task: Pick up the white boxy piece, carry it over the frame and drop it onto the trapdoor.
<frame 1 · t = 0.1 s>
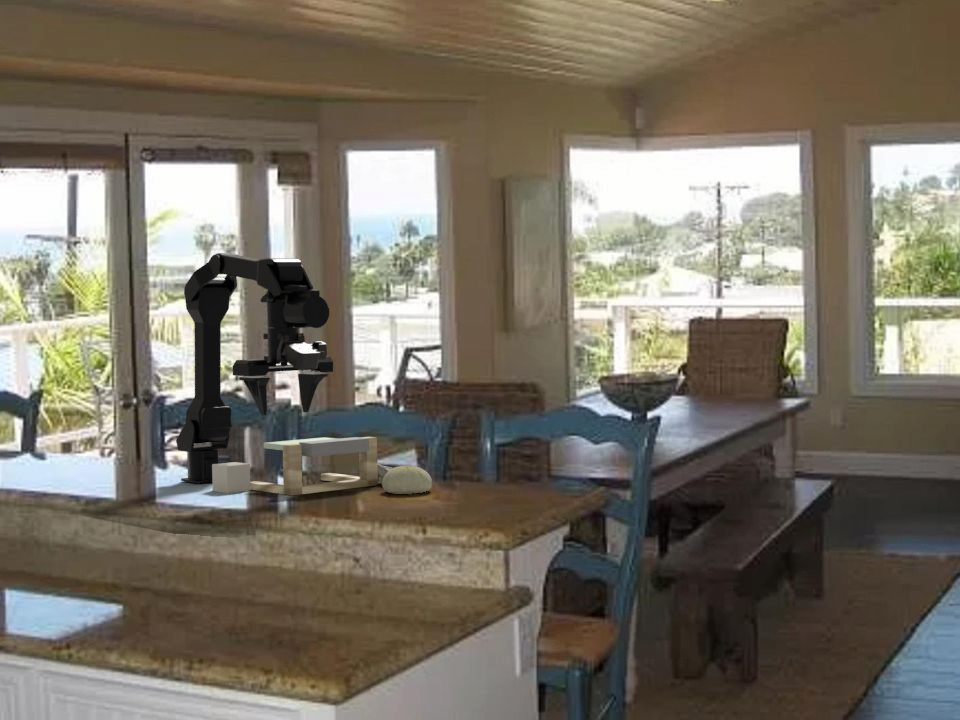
hand: (285, 413, 281), 15 cm above the kitchen counter, tool pointing down, fingers open, 9 cm apart
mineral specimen: (394, 486, 294), on the kitchen counter
trapdoor: (317, 445, 290), point 8 cm above the kitchen counter, hinge at 0.0°
white boxy piece: (231, 490, 288), on the kitchen counter
frame: (314, 487, 291), on the kitchen counter
sea urchin shell: (407, 494, 282), on the kitchen counter
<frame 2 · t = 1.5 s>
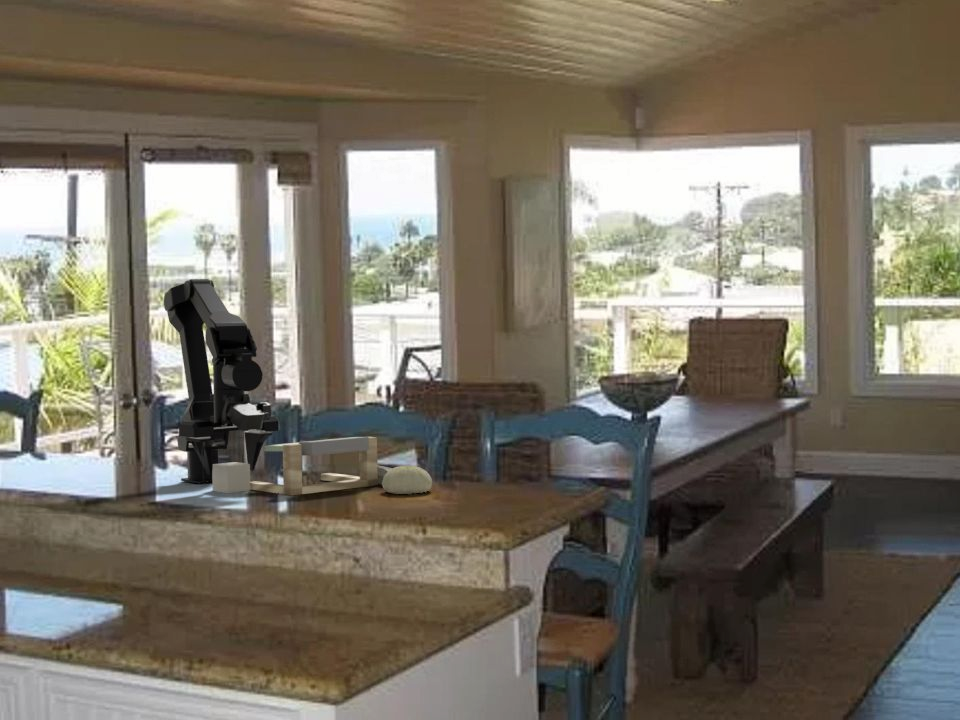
hand: (230, 472, 288), 3 cm above the kitchen counter, tool pointing down, fingers open, 9 cm apart
trapdoor: (317, 445, 290), point 8 cm above the kitchen counter, hinge at -3.3°, touching gripper
everything else where it was.
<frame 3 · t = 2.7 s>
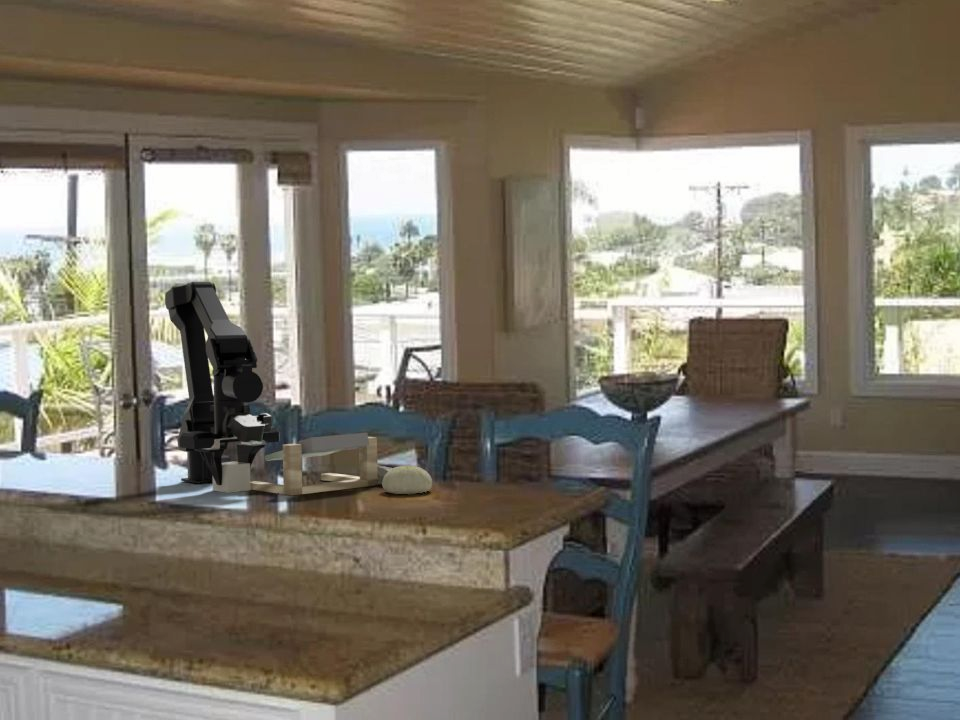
hand: (231, 483, 288), 1 cm above the kitchen counter, tool pointing down, fingers closed on white boxy piece, 5 cm apart
trapdoor: (317, 448, 290), point 7 cm above the kitchen counter, hinge at -14.0°
white boxy piece: (231, 490, 288), on the kitchen counter, touching gripper
everything else where it was.
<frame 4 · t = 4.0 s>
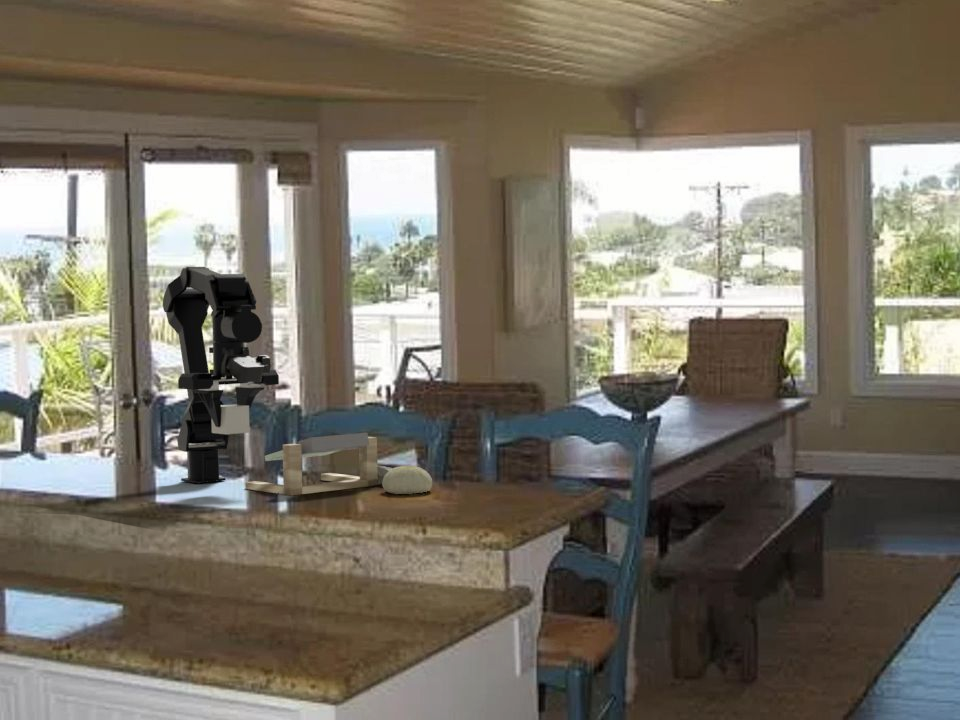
hand: (230, 426, 288), 12 cm above the kitchen counter, tool pointing down, fingers closed on white boxy piece, 5 cm apart
white boxy piece: (230, 432, 288), point 11 cm above the kitchen counter, touching gripper
everything else where it was.
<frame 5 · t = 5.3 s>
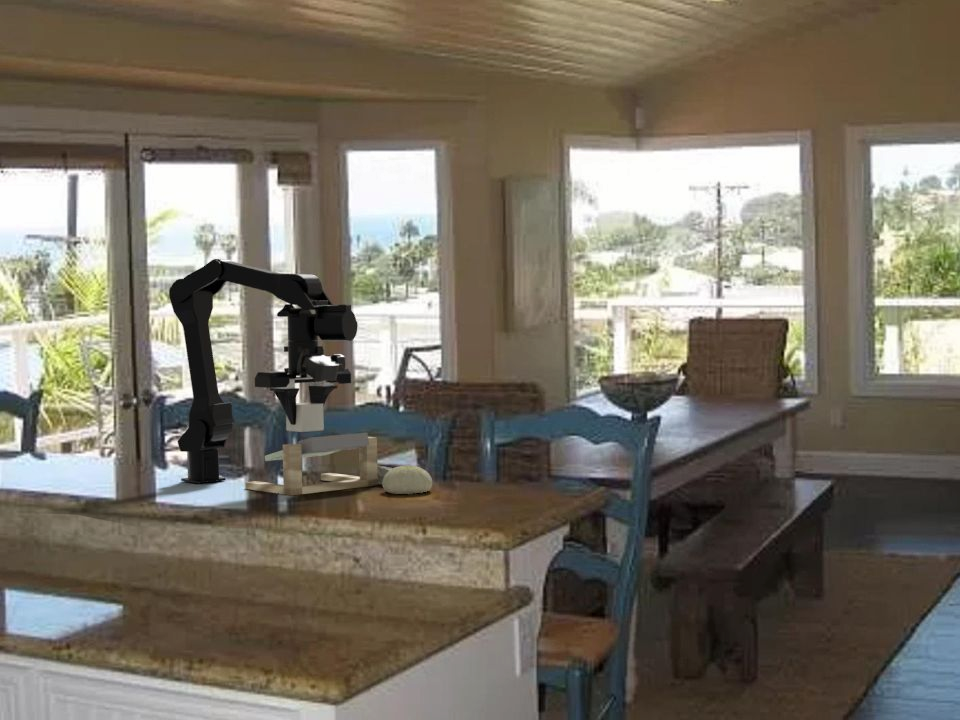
hand: (304, 423, 292), 12 cm above the kitchen counter, tool pointing down, fingers closed on white boxy piece, 5 cm apart
white boxy piece: (305, 430, 292), point 11 cm above the kitchen counter, touching gripper
everything else where it was.
when the fingers open (12 cm above the kitchen counter, at t = 5.6 s): white boxy piece drops 6 cm and tips over, point 5 cm above the kitchen counter.
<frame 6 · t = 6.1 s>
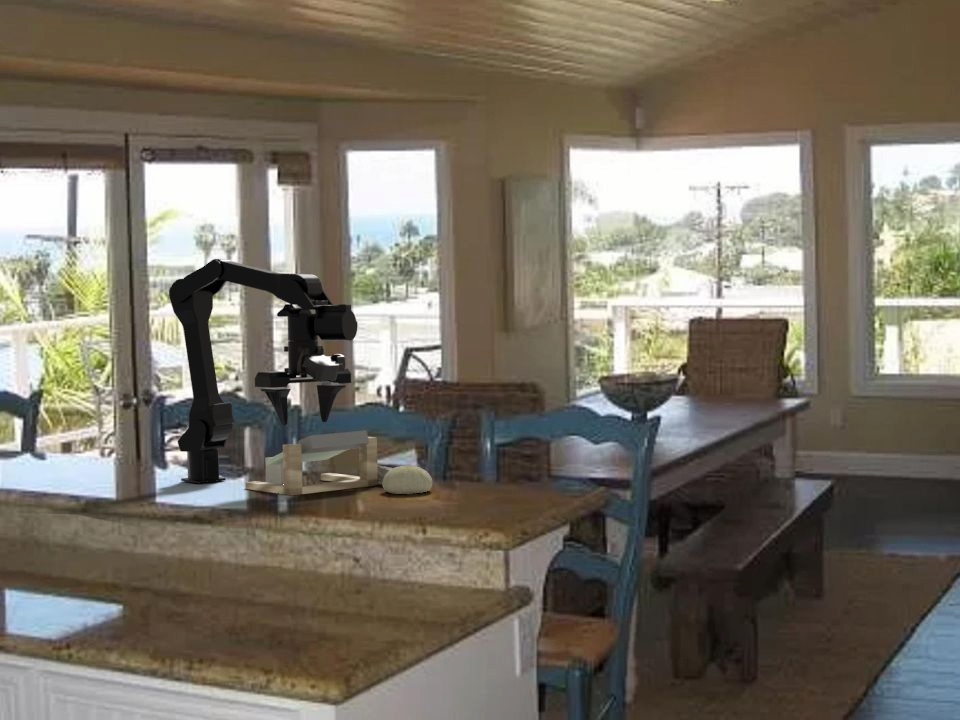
hand: (304, 423, 292), 12 cm above the kitchen counter, tool pointing down, fingers open, 9 cm apart
trapdoor: (317, 449, 290), point 7 cm above the kitchen counter, hinge at -19.2°
white boxy piece: (283, 457, 298), point 5 cm above the kitchen counter, tilted 180°
everything else where it was.
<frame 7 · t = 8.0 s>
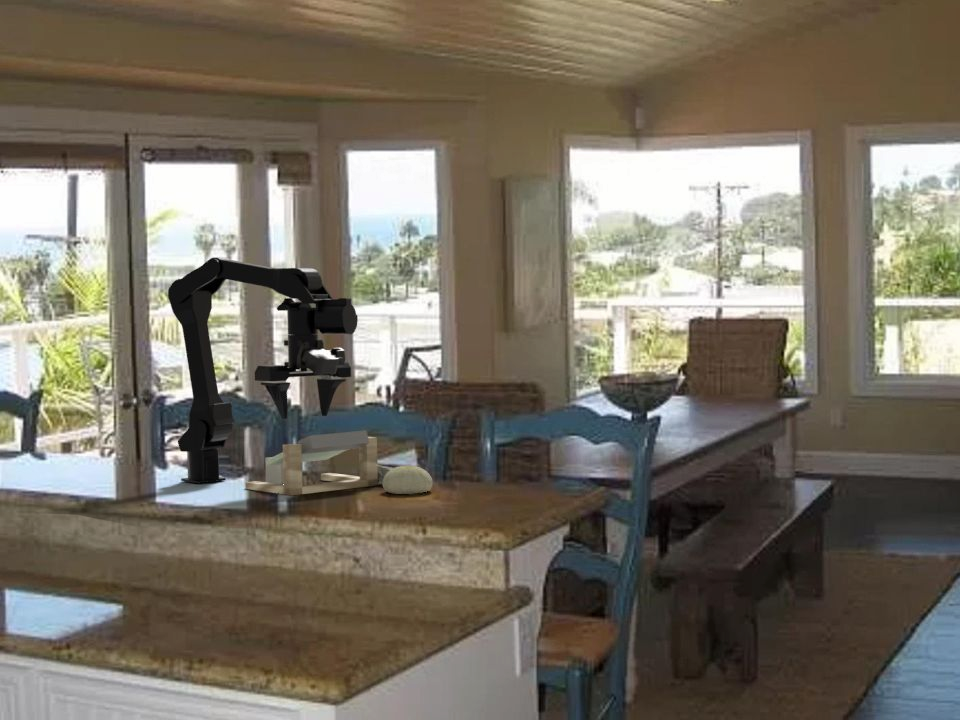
hand: (304, 417, 293), 13 cm above the kitchen counter, tool pointing down, fingers open, 9 cm apart
nothing on the kitchen counter moved.
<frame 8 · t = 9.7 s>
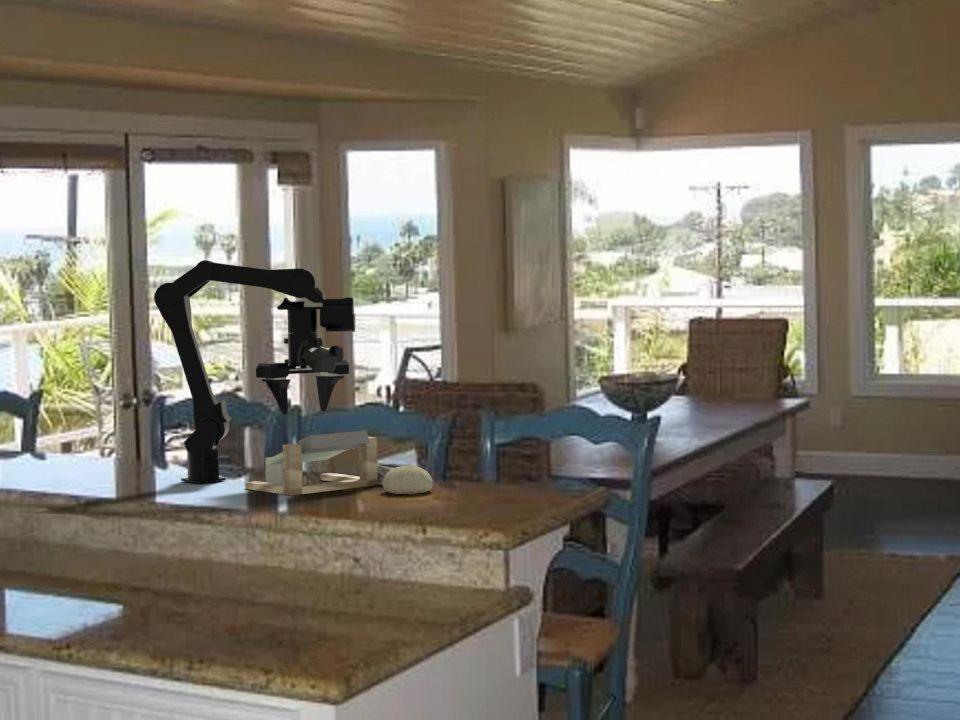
hand: (304, 413, 303), 13 cm above the kitchen counter, tool pointing down, fingers open, 9 cm apart
nothing on the kitchen counter moved.
at the end: white boxy piece point 4.9 cm above the kitchen counter; white boxy piece inside the target area (3.2 cm from its centre), point 4.9 cm above the kitchen counter; the gripper is holding nothing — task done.
